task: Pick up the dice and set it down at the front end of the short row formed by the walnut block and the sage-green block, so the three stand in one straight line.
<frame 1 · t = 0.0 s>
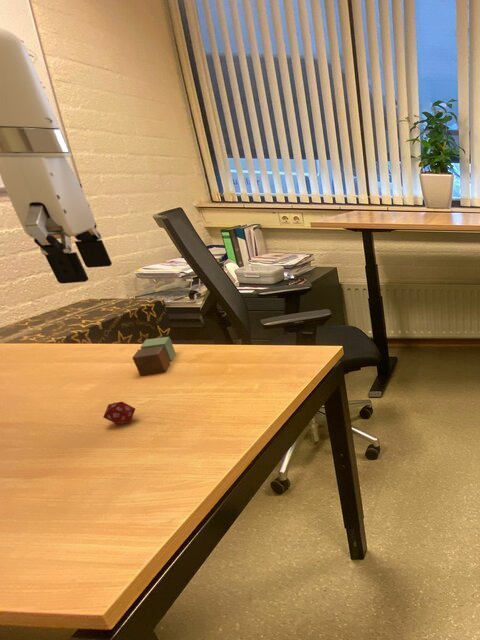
hand: (87, 273, 63), 27 cm above the table, tool pointing down, fingers open, 9 cm apart
dice: (124, 423, 75), on the table
walnut block: (155, 370, 92), on the table
sage block: (162, 359, 97), on the table
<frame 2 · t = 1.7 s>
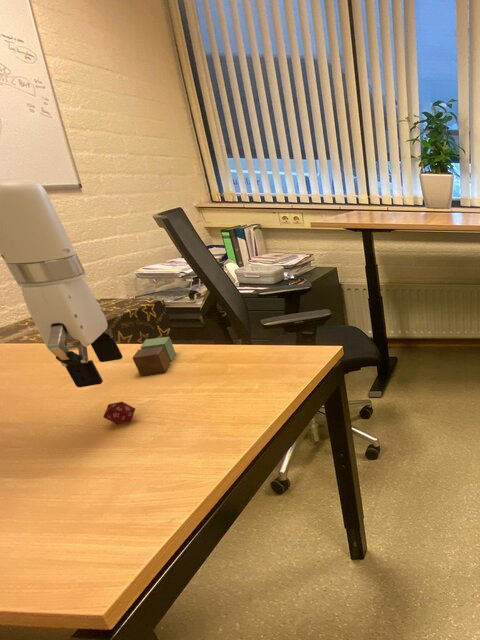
hand: (101, 371, 70), 10 cm above the table, tool pointing down, fingers open, 9 cm apart
nothing on the table moved.
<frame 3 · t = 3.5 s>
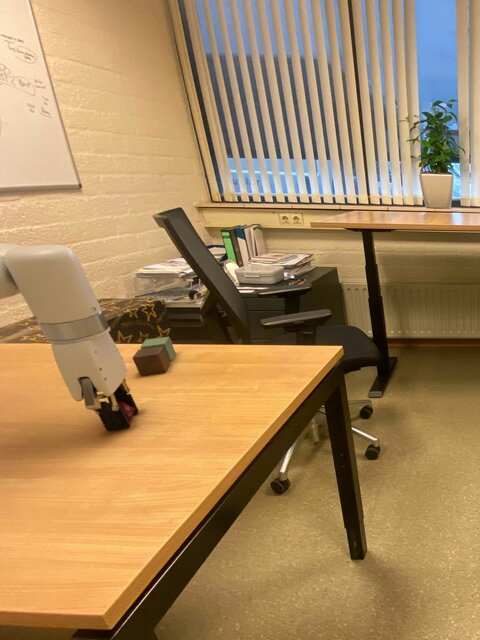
hand: (123, 420, 75), 0 cm above the table, tool pointing down, fingers closed on dice, 4 cm apart
dice: (124, 423, 75), on the table, touching gripper
everything else where it was.
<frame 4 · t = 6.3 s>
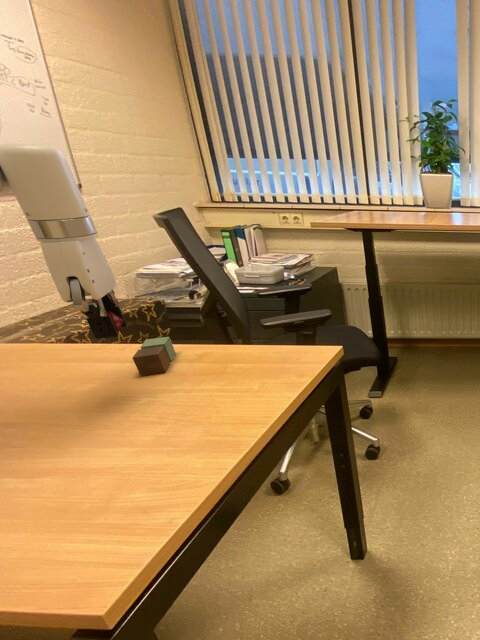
hand: (111, 331, 77), 14 cm above the table, tool pointing down, fingers closed on dice, 4 cm apart
dice: (113, 333, 77), point 13 cm above the table, touching gripper
everything else where it was.
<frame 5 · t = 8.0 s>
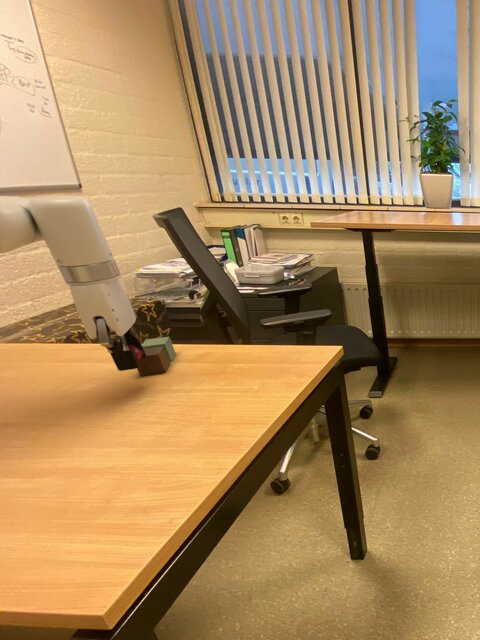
hand: (133, 362, 82), 6 cm above the table, tool pointing down, fingers closed on dice, 4 cm apart
dice: (134, 365, 83), point 5 cm above the table, touching gripper
everything else where it was.
when the fingers open (0 cm above the table, at t = 9.6 s): dice stays where it is, on the table.
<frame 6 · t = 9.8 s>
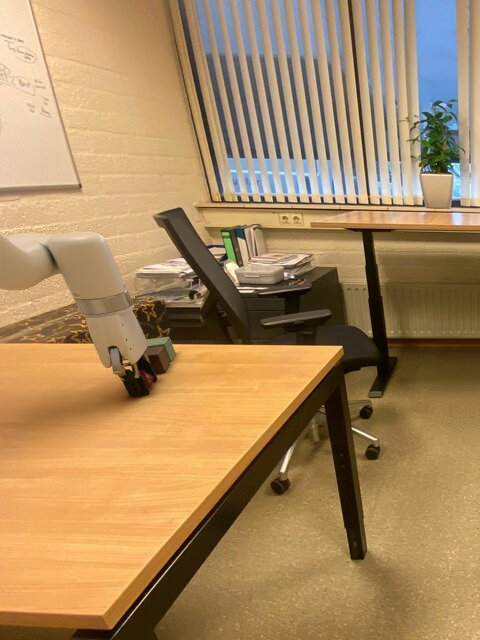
hand: (144, 387, 85), 0 cm above the table, tool pointing down, fingers open, 5 cm apart
dice: (144, 389, 85), on the table
everything else where it was.
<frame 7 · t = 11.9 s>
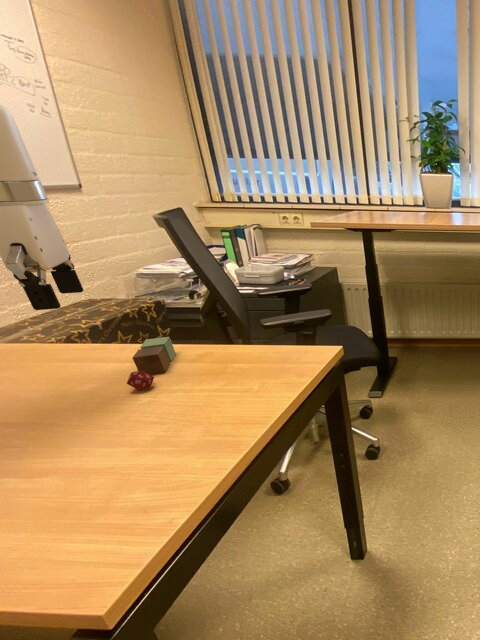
hand: (60, 300, 72), 20 cm above the table, tool pointing down, fingers open, 9 cm apart
nothing on the table moved.
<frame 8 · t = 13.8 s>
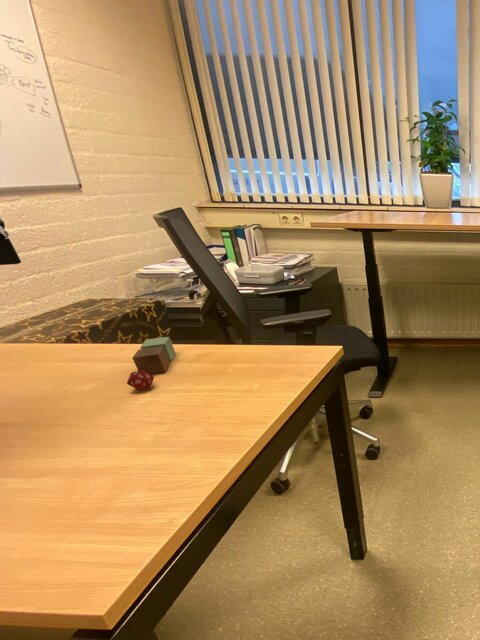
nothing on the table moved.
at the end: dice 0.0 cm from the target spot on the table beside the walnut block, on the table; walnut block moved 0.0 cm from its start; sage block moved 0.0 cm from its start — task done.
